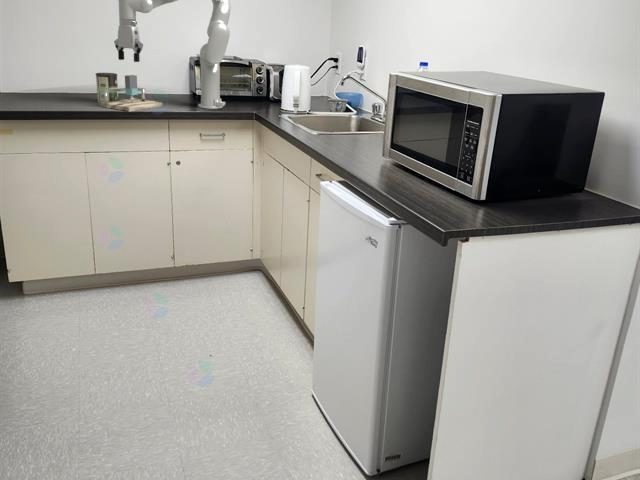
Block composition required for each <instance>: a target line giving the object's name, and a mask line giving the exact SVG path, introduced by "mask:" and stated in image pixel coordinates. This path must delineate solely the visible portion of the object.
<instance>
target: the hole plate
mask: <svg viewBox="0 0 640 480" xmlns="http://www.w3.org/2000/svg"><path fill="white" fill-rule="evenodd" d="M118 100H119V101H111V102H108V103H105V102H103V103H100V107H101V108H105V107H106V108H105V109H111V108H112V109H111V110H117V109H118V110H117V111H123V110H125V111H124V112H129V113H130V112H136V111H135V110H137V111H141V110H142V109H143V110H149V109H148V108H150V109H155V108H156V107H157V108H163V102H162V101H154V100H147V99H145V101H142V98H141V99H140V98H135V97H133V100H134V102H131V99H130V98H129V99H118Z"/></svg>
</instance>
